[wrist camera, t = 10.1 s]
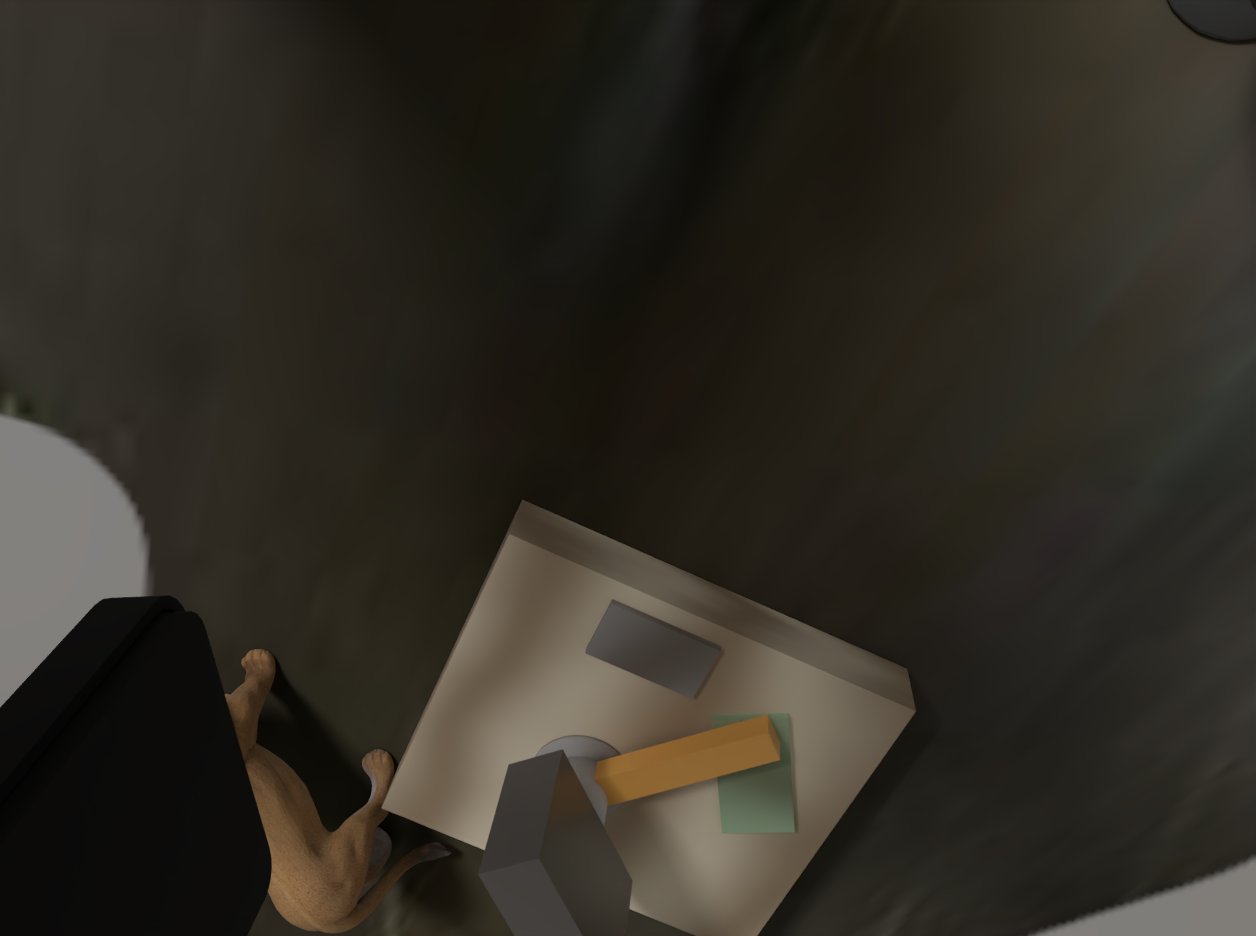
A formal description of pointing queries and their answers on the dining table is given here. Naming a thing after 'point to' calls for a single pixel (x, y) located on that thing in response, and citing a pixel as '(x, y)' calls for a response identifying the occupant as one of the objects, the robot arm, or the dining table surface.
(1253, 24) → the sundae
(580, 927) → the latch
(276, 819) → the lion figurine
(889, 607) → the dining table surface
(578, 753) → the dial board
